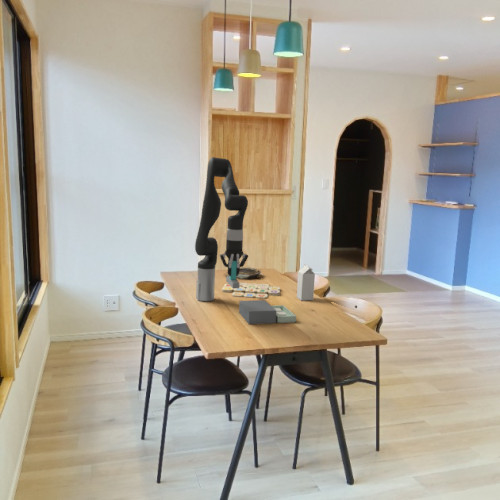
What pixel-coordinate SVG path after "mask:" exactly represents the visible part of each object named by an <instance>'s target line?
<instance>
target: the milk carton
mask: <svg viewBox="0 0 500 500" xmlns="http://www.w3.org/2000/svg"><path fill="white" fill-rule="evenodd" d="M315 277H316V273H315V272H313V268H312V267H310V266H309V265H307V264H306V263H305V264H304V266H303V267H301V268H300V269H299V270H298V273H297V284H296V285H297V286H296V298H297V299H298V300H300V301H314V294H315V293H314V292H315Z"/></svg>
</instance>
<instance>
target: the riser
mask: <svg viewBox="0 0 500 500" xmlns="http://www.w3.org/2000/svg"><path fill="white" fill-rule="evenodd" d="M238 305H239V306H238V307H239V308H238V313H239V314H240V315H241V317H242V318H243V319H244V321H245V322H246V323H247V324H248V325H258V324H259V325H261V324H265V325H266V324H276V323H277V322H276V310H275V309H274V308H273V307H272V306H273V305H271V304H269V302H267V300H266V299H260V300H259V299H257V300H255V299H254V300H252V299H251V300H239V304H238Z"/></svg>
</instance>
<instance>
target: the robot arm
mask: <svg viewBox="0 0 500 500" xmlns="http://www.w3.org/2000/svg"><path fill="white" fill-rule="evenodd" d="M206 169H207V170H206V183H205V189H204V196H203V200H202V201H203V202H202V207H201V208H202V209H201V215H200V216H201V217H200V220H199V226H198V232H197V236H196V239H195V243H194V249H195V253H196V255H198V256H199V257H200V256H203V258H202V259H201V260H199V261H198V263H197V278H196V279H197V280H196V287H195V288H196V290H195V291H196V293H195V294H196V295H195V299H196V300H197V301H198V302H200V301H201V302H211V301H214V300H215V283H216V281H215V280H216V265H217V261H218V252H219V251H218V249H219V246H218V241H217V239H216V238H215V237H211V236H210V237H209V233H210V231H211V230H212V228H213V226H214V225H215V223H216V222H217V221H218V219H219V217H220V213H221V207H222V201H221V198H220V196H219V193H218V191H217V188H216V185H215V177H218V178H224V179H223V181H222V182H221V190H222V192H223V195H224V208H225V209H226V210H227V211H234V212H236V211H237V213H236V214H233V215H230V216H228V218H227V230H226V242H225V243H226V244H225V251H224V253H221V254H219V257H220V259H221V262H222V264H223V266H224V267H225V268H227V272H226V274H227V276H231V265H232V261H234V260H235V261H236V262H237V268H236V276H238V275H239V268H241V267H244V265H245V263H246V262H247V260H248V258H249V255H248V254H247V253H244V251H243V245H244V244H243V242H244V231H243V228H244V219H245V215H246V211H247V209H248V206H249V205H248V204H249V201H248V198H247V197H246V195H243V194H241V195H240V189H239V188H238V185H237V183H236V181H235V175H234V172H233V167H232V163H231V161H230V160H229V159H227V158H221V157H210V158H209V159H208V164H207V168H206ZM225 258H227V261H226V259H225ZM241 258H242V259H241ZM240 259H241V260H240Z"/></svg>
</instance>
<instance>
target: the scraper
mask: <svg viewBox="0 0 500 500" xmlns="http://www.w3.org/2000/svg"><path fill="white" fill-rule="evenodd" d="M236 268H237V262H236V261H235V260H234V261H232V265H231V276H229V275H226V277H225V278H226V279H225V282H227V283H228V284H229V285H230V286H231V287H232V288H239V283H240V282H239V280H238V279H237V278H236Z"/></svg>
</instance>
